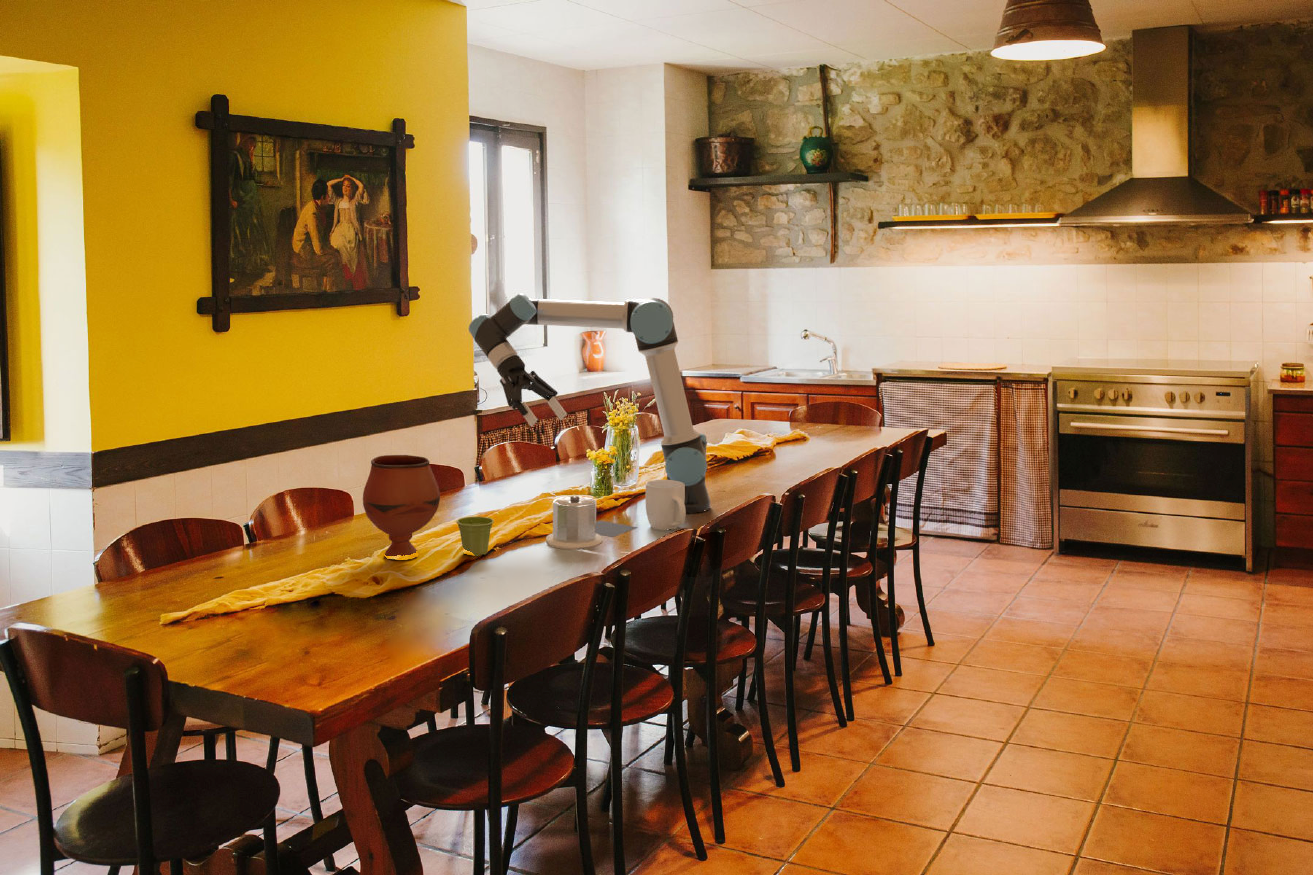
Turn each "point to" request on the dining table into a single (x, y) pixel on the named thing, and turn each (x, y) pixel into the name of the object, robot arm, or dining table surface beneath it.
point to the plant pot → (475, 534)
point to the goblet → (400, 498)
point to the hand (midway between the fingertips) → (549, 420)
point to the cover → (574, 519)
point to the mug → (665, 504)
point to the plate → (572, 545)
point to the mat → (611, 528)
